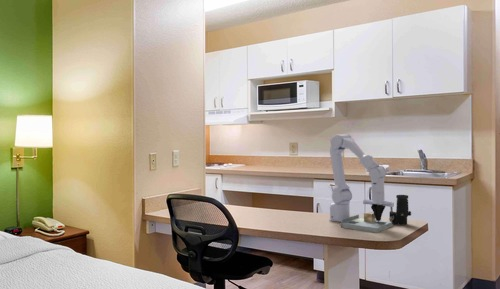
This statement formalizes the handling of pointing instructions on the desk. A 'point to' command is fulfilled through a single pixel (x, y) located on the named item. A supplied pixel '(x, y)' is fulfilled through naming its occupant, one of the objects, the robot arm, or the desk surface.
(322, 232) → the desk surface
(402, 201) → the scope
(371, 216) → the block
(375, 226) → the board
